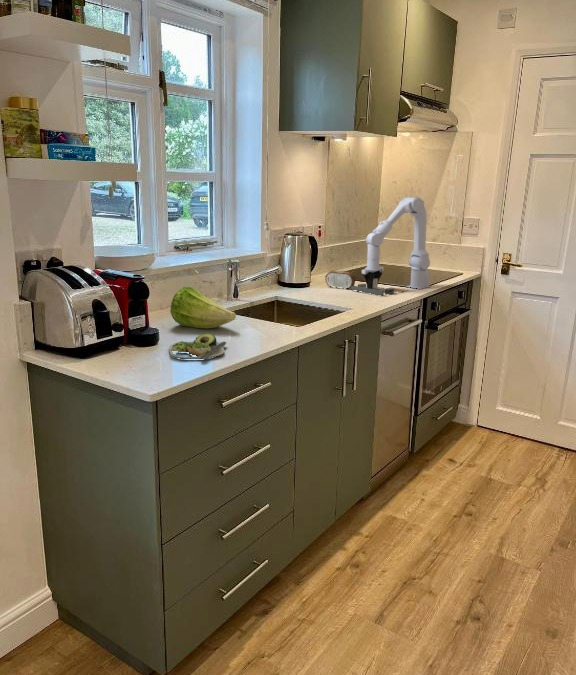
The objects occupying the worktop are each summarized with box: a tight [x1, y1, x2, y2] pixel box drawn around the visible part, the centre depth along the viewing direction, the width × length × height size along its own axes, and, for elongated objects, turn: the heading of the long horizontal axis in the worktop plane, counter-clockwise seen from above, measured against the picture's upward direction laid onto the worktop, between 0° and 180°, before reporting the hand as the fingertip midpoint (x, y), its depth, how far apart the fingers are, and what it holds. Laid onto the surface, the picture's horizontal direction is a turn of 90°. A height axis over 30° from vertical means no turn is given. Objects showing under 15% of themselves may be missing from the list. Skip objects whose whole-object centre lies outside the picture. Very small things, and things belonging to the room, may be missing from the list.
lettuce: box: [169, 286, 237, 329], centre depth 204 cm, size 14×24×15 cm
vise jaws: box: [350, 283, 395, 297], centre depth 272 cm, size 9×20×2 cm, turn 45°
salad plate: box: [168, 333, 227, 360], centre depth 175 cm, size 19×18×5 cm
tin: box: [325, 270, 356, 289], centre depth 281 cm, size 15×3×8 cm, turn 59°
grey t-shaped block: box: [371, 278, 385, 292], centre depth 273 cm, size 4×8×6 cm, turn 45°
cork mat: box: [384, 287, 409, 294], centre depth 277 cm, size 8×10×1 cm
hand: (372, 287), depth 275 cm, fingers closed on grey t-shaped block, 4 cm apart
